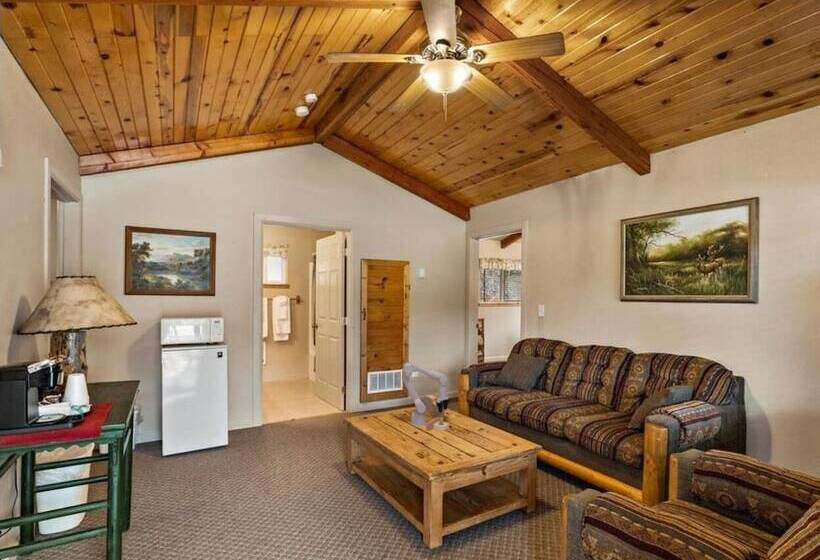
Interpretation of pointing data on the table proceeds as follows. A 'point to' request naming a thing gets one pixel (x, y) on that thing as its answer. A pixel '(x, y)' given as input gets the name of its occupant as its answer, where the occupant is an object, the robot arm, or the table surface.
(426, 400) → the stack of blocks
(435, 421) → the wall
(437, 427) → the beige square frame
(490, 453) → the table surface
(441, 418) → the birch dowel
